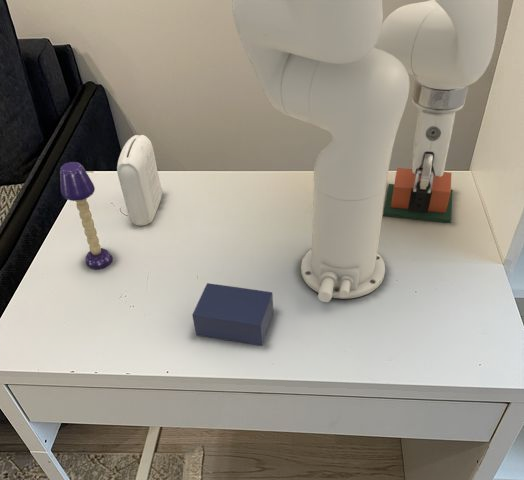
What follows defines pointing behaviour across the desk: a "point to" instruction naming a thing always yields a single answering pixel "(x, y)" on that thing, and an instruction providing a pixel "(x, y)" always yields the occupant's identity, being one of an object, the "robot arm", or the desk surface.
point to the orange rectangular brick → (406, 183)
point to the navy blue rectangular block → (233, 314)
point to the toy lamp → (84, 210)
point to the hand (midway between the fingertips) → (419, 194)
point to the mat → (416, 215)
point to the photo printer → (139, 179)
